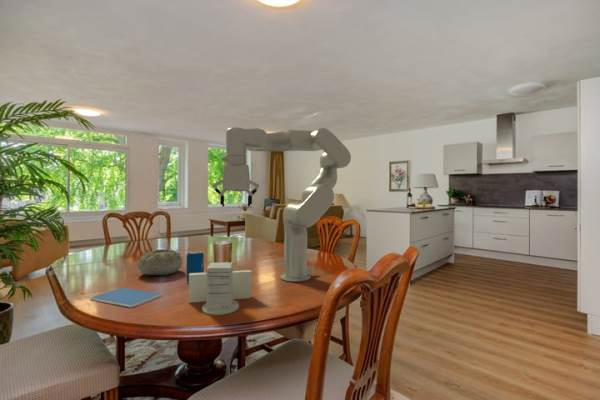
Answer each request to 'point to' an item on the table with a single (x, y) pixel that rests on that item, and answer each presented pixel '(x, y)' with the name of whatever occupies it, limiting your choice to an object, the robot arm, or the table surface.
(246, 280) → the painted screen
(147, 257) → the grey rounded lump
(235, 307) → the round plate
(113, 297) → the blue flat slab
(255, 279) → the table surface
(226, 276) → the supplement box
